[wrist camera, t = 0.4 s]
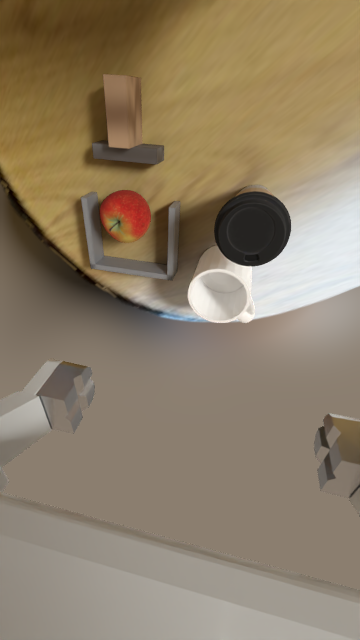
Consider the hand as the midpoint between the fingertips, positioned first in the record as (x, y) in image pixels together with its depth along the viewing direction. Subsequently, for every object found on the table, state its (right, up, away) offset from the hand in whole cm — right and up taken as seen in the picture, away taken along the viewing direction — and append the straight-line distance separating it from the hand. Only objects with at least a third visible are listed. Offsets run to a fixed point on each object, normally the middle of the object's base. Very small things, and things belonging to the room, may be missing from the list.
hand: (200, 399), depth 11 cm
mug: (+9, +12, +46) cm, 49 cm away
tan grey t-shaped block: (-8, +34, +34) cm, 49 cm away
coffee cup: (+11, +22, +38) cm, 45 cm away
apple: (-8, +23, +43) cm, 49 cm away
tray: (-9, +19, +45) cm, 50 cm away
